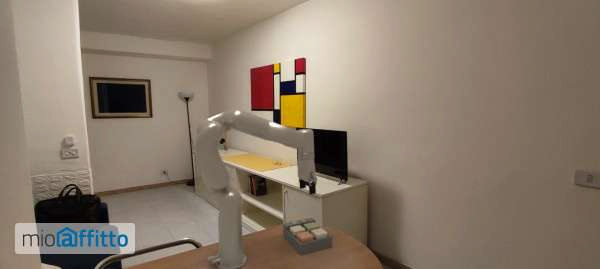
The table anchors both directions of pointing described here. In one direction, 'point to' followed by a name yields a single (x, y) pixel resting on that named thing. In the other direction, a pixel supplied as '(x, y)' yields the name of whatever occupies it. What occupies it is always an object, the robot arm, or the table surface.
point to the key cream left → (297, 230)
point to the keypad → (307, 246)
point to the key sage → (310, 226)
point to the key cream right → (319, 233)
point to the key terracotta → (304, 237)
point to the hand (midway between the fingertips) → (307, 190)
